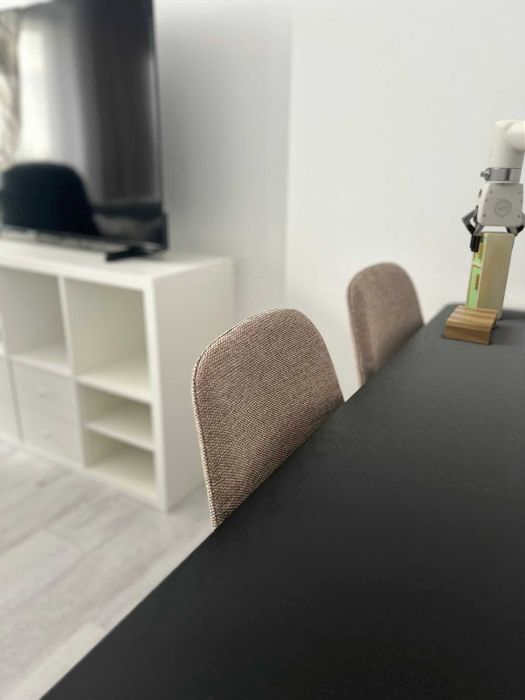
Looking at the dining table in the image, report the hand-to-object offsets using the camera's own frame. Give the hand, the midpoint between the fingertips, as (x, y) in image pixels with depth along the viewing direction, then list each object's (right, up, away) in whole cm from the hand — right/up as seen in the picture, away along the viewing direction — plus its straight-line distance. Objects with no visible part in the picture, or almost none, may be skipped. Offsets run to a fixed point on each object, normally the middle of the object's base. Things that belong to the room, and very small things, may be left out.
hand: (490, 251), depth 127 cm
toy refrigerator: (0, -16, +5) cm, 16 cm away
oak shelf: (-8, -20, -9) cm, 24 cm away
